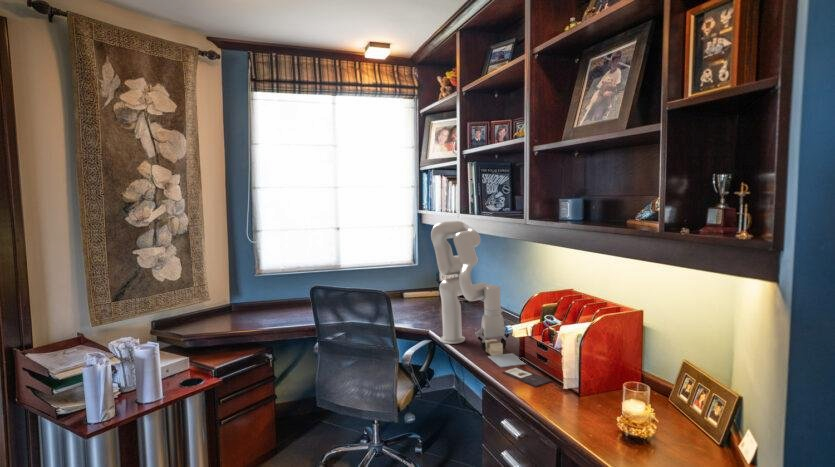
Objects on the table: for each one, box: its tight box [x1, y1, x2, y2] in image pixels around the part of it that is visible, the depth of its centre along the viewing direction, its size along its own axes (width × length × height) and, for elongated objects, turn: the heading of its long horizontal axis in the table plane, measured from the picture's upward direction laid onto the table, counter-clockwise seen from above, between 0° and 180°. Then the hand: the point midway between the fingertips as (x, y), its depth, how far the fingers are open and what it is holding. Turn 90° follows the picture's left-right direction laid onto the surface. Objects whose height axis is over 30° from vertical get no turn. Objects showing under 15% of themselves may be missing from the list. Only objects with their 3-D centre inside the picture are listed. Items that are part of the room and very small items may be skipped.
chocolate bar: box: [501, 366, 553, 389], centre depth 177 cm, size 9×1×18 cm
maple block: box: [485, 338, 504, 356], centre depth 208 cm, size 8×6×5 cm
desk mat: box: [487, 352, 527, 368], centre depth 197 cm, size 14×12×1 cm
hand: (493, 349), depth 208 cm, fingers open, 9 cm apart
